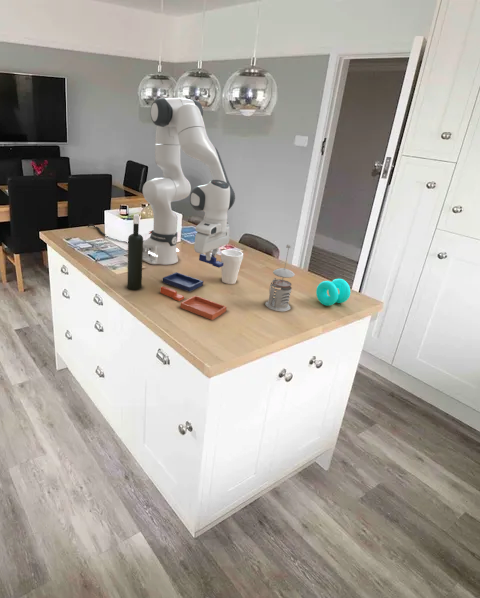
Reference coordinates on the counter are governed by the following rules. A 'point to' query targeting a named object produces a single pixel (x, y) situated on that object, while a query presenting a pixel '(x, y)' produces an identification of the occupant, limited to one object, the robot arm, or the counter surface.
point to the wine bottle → (135, 257)
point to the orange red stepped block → (171, 293)
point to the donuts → (333, 292)
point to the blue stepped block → (213, 261)
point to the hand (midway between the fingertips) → (210, 259)
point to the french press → (283, 294)
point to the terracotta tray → (203, 307)
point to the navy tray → (182, 281)
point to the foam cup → (230, 265)
